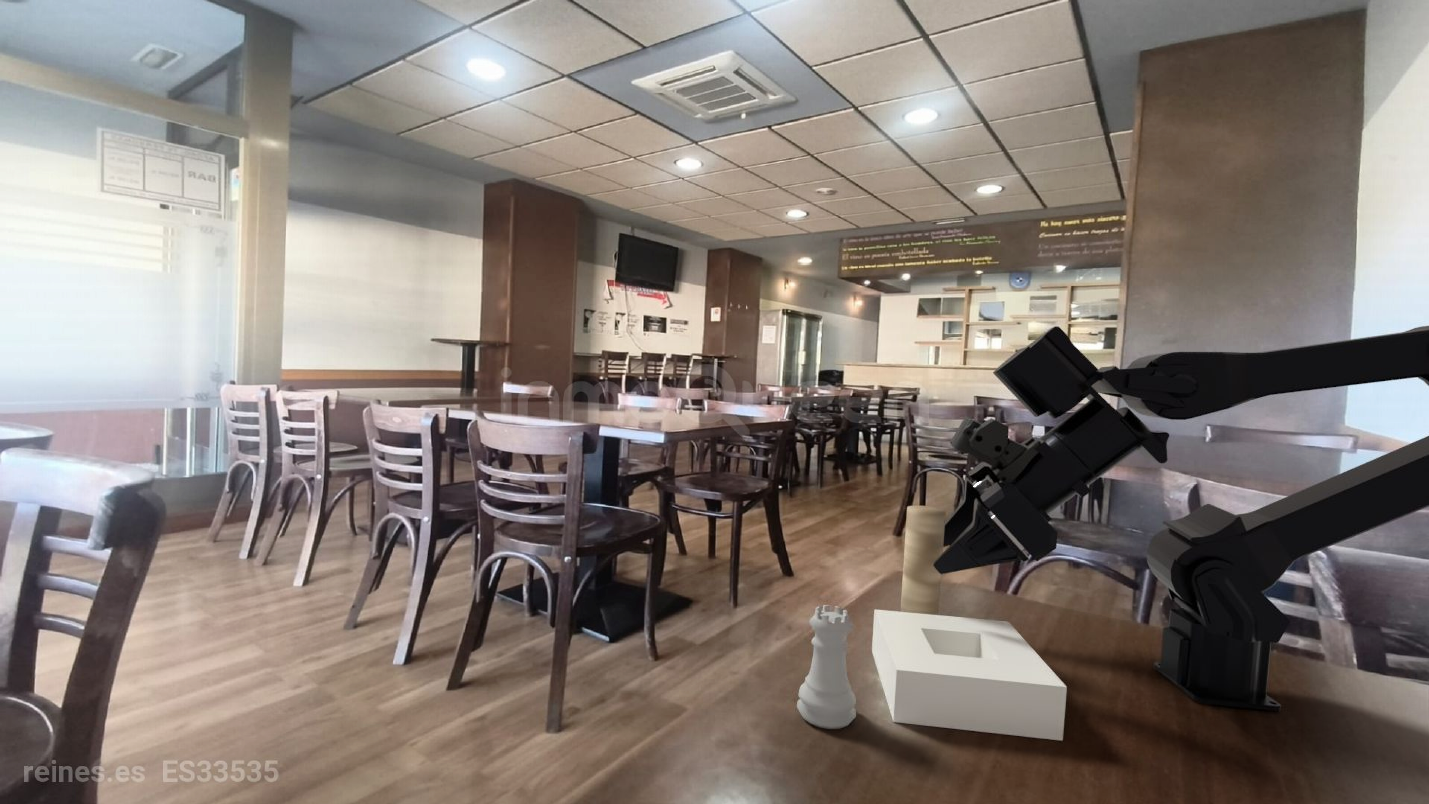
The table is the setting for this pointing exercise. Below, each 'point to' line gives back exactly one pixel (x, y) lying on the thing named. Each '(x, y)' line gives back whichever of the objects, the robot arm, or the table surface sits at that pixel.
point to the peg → (922, 560)
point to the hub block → (966, 675)
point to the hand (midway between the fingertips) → (935, 556)
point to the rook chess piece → (828, 673)
